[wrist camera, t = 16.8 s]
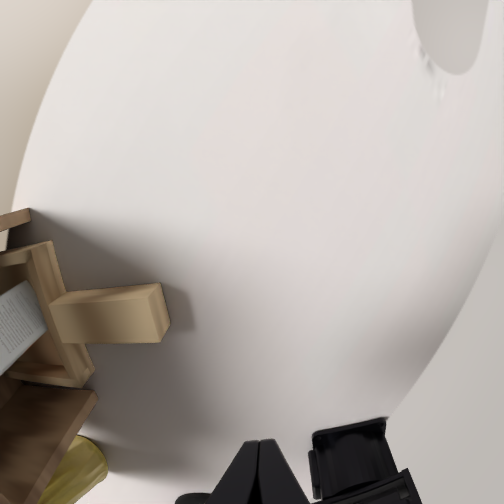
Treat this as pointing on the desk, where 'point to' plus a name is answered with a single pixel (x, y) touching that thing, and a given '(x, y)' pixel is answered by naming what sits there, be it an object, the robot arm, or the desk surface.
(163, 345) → the desk surface
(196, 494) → the webcam
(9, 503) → the wooden open box
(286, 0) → the desk surface
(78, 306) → the wooden tray with handle
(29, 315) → the skincare box
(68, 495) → the vase
